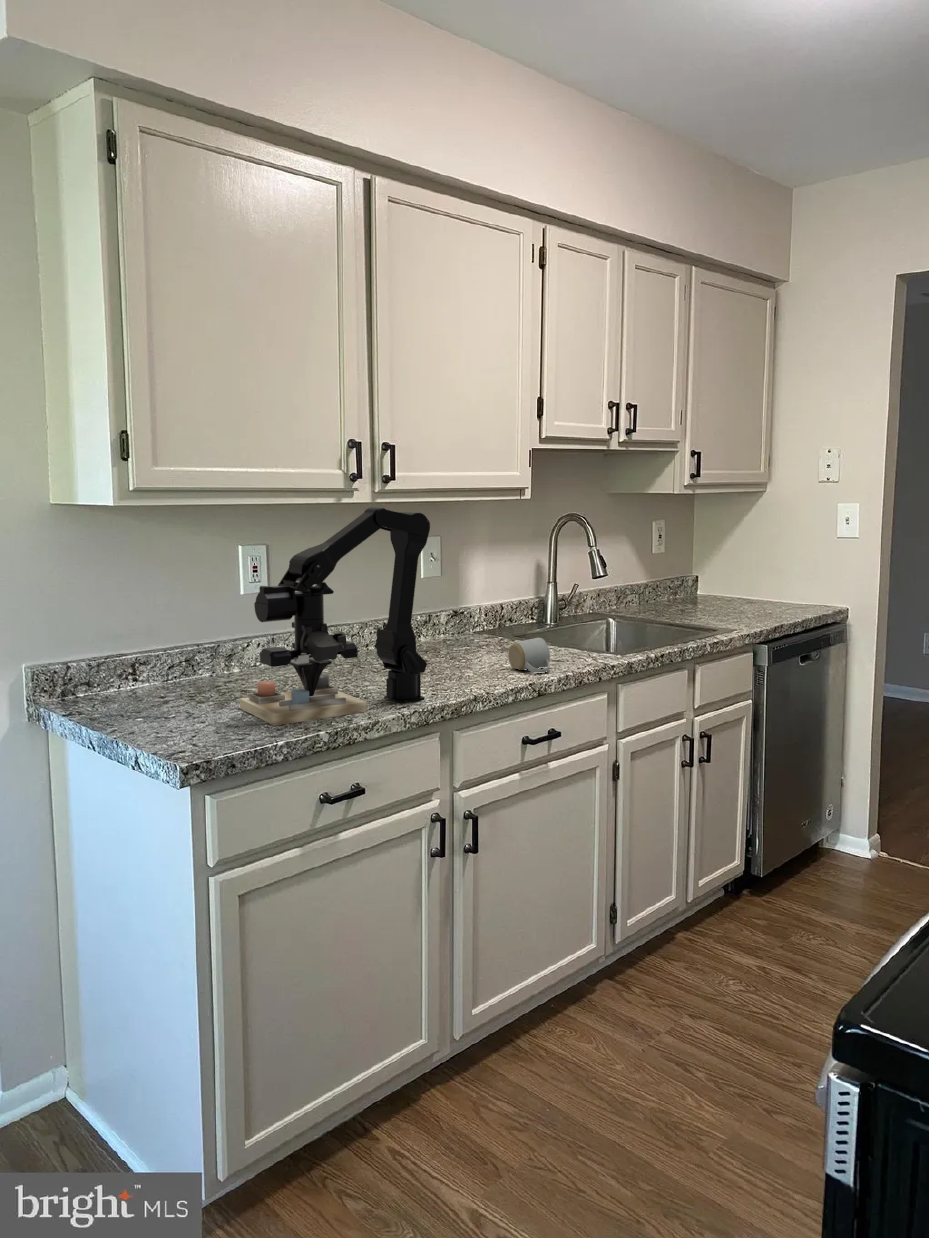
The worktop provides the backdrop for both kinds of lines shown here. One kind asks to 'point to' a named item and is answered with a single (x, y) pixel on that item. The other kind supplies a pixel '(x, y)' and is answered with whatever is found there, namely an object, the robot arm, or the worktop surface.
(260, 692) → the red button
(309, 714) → the control panel
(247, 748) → the worktop surface
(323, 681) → the black button
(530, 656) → the ceramic mug
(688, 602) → the worktop surface
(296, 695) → the slider knob
